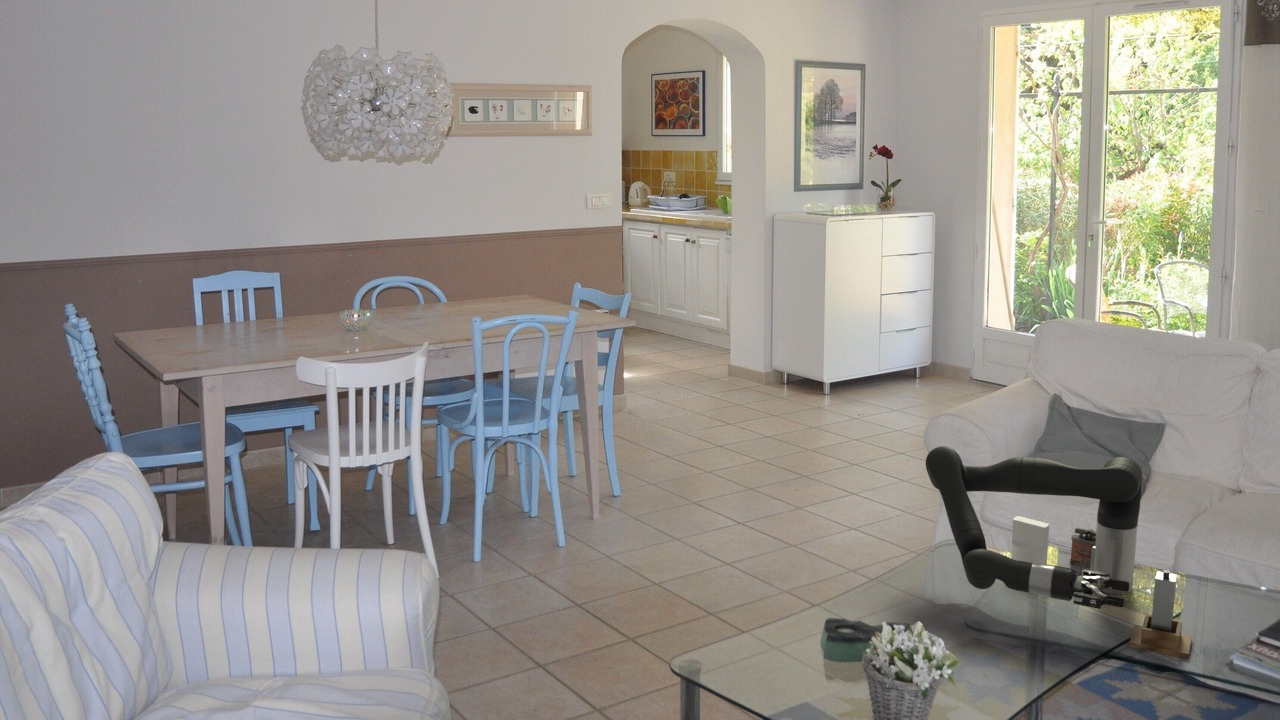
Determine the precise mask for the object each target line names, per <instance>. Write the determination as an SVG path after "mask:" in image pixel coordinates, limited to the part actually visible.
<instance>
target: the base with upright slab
mask: <svg viewBox="0 0 1280 720" xmlns="http://www.w3.org/2000/svg"><path fill="white" fill-rule="evenodd" d="M1011 534H1012V535H1011V551H1010V552H1011V553H1010V554H1011V555H1010V558H1011V559H1013V560H1017V561H1024V562H1030V563H1037V564H1048V555H1049V554H1048V550H1049V537H1050V523H1047V522H1045V521H1039V520H1036V519H1032V518H1028V517H1025V516H1021V515H1017V516H1015V517H1013V518H1012V531H1011Z"/></svg>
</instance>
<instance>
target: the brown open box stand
mask: <svg viewBox="0 0 1280 720" xmlns="http://www.w3.org/2000/svg"><path fill="white" fill-rule="evenodd" d="M1151 622H1152V614H1147V613H1146V614H1145V615H1144V619H1143V623H1142V625H1140V624H1139V625H1138V624H1134V626H1133V629H1132V633H1131V636H1130V639H1129V643H1128V644H1129V645H1128V647H1129V648H1132V649H1137V650H1143V651H1147V652H1153V653H1158V654H1162V655H1167V656H1172V657H1176V658H1183V659H1187V660H1188V659H1189V657H1190V656H1189V655H1190V652H1191V645H1192V640H1193V635H1191V634H1185V633H1182V631H1183V630H1182V629H1183V627H1182V626H1183V620H1179V619H1174V618H1173V622H1172V633H1169V632H1164V631H1159V630H1154V629H1151Z"/></svg>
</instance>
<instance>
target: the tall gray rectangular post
mask: <svg viewBox="0 0 1280 720" xmlns="http://www.w3.org/2000/svg"><path fill="white" fill-rule="evenodd" d="M1177 578H1178V574H1176V573H1170V570H1167V569H1163V571H1156V575H1155V579H1154V588H1153V589H1154V590H1153V600H1152V611H1151V615H1152V622H1151V629H1154V630H1159V631H1164V632H1169V633H1172V622H1173V619H1174V608H1175V600H1176V599H1175V598H1176V590H1177V588H1176V586H1177Z"/></svg>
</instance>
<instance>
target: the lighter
mask: <svg viewBox="0 0 1280 720" xmlns="http://www.w3.org/2000/svg"><path fill="white" fill-rule="evenodd" d="M1070 537H1071V539H1070V540H1071V550H1070V552H1071V554H1070V558H1069V563H1070V564H1071V565H1073V566H1076V567H1081V568H1084V569H1085V568H1087V569H1090V565H1091V551H1092V547H1094V546H1095V543H1096V530H1094V529H1092V528H1088V529H1085V528H1081V527H1075V528H1074V534H1071V536H1070Z"/></svg>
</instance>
